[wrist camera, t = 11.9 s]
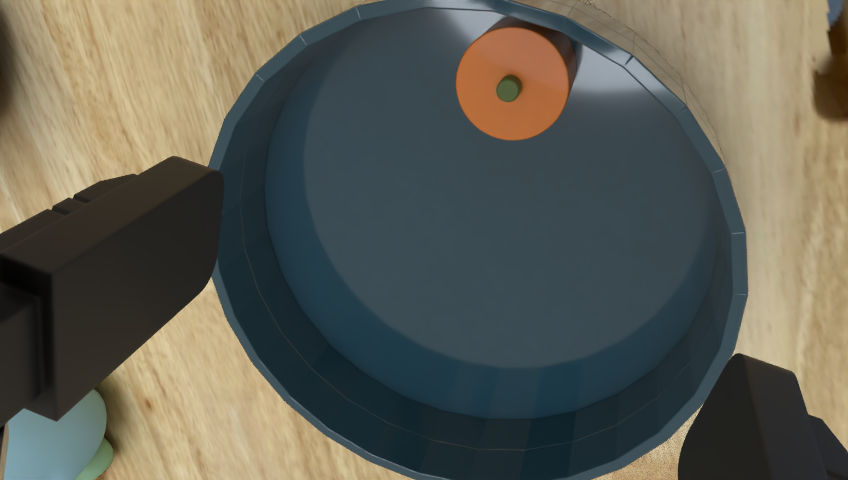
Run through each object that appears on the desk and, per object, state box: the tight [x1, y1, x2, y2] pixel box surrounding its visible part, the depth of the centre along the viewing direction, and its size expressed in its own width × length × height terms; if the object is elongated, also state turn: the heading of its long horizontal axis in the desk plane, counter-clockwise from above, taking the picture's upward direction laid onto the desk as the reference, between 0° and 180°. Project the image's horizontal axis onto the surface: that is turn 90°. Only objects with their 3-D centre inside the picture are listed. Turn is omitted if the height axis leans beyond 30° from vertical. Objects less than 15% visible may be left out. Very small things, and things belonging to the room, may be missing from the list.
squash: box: [456, 17, 577, 141], centre depth 26 cm, size 4×4×4 cm
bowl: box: [208, 0, 748, 480], centre depth 29 cm, size 21×21×5 cm
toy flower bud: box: [4, 389, 114, 480], centre depth 41 cm, size 7×9×12 cm
